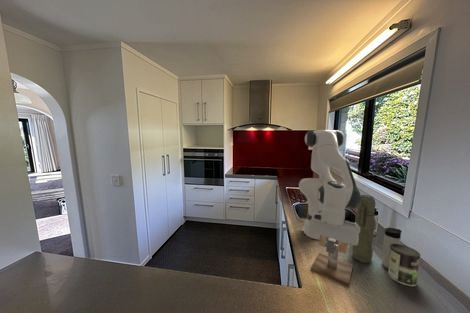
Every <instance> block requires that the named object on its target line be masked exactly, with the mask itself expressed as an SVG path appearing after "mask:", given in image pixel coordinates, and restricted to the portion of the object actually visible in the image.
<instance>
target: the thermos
mask: <svg viewBox="0 0 470 313" xmlns="http://www.w3.org/2000/svg"><path fill="white" fill-rule="evenodd" d="M360 195H361V203H360V205H358V206H357V211H356V214H355V217H354V218H355V219H354V220H355V222H354V223H357V224H358V225H359V226H360V228H361V230H360V233H359V242H358V245H356V246H355V245H352V258H353V259H354V260H356V261H358V262H360V263H363V264H371V263H372V259H373V255H374V254H373V253H374V252H373V250H374V249H373V238H374V231H375V229H376V217H375V212H376V206H377V205H376V199H375V197H374V196H371V195H368V194H360ZM356 226H357V225H356Z"/></svg>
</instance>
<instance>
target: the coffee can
mask: <svg viewBox="0 0 470 313" xmlns="http://www.w3.org/2000/svg"><path fill="white" fill-rule="evenodd" d="M420 258H421V253H420V252H419V251H417V250H416V249H414V248H413V247H409V246H406V245H404V244H403V245H402V244H401V243H400V244H391V245H390V258H389V269H387V270H388V271H387V275H388V276H389V277H390V278H391V279H392V280H393V281H395V282H397V283H399V284H400V285H404V286H406V287H416V286H418V274H419V265H420Z"/></svg>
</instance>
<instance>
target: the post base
mask: <svg viewBox="0 0 470 313" xmlns="http://www.w3.org/2000/svg"><path fill="white" fill-rule="evenodd" d="M338 256H339V251H336V250H335V252H334V254H332V253H329V252H328V255H326V254H324V253H320V252H318V254H317V256H316V258H315V259H314V261H313V263H312V265H311V267H310V271H311V272H313V273H316V274H318V275H321V276H323V277H325V278H328V279H329V280H332V281H334V282H336V283H339V284H341V285H344V286H346V287H349V286H350V282H351V279H352V278H351V277H352V274H353V269H354V268H353V267H354V265H353V264H351V263H349V262H345V261H342V260H340V259H338Z"/></svg>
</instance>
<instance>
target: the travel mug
mask: <svg viewBox="0 0 470 313" xmlns="http://www.w3.org/2000/svg"><path fill="white" fill-rule="evenodd" d="M401 235H402V230H401V229H399V228H393V227H386V228H384V235H383V236H384V237H383V247H382V256H381V266H383V267H384V268H385V269H387V270H388V269H389V258H390V245H391V244H400V245H401V238H402V237H401Z"/></svg>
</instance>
